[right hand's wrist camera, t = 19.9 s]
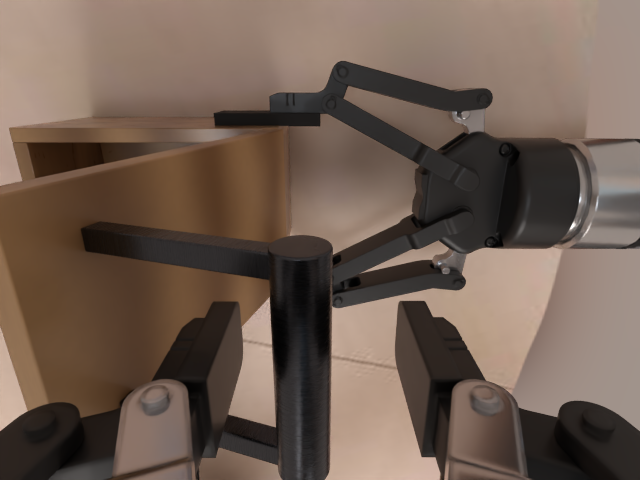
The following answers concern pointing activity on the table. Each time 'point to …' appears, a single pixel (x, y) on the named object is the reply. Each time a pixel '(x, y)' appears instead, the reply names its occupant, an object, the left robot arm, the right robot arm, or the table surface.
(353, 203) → the table surface
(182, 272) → the lid
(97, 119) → the wooden box
